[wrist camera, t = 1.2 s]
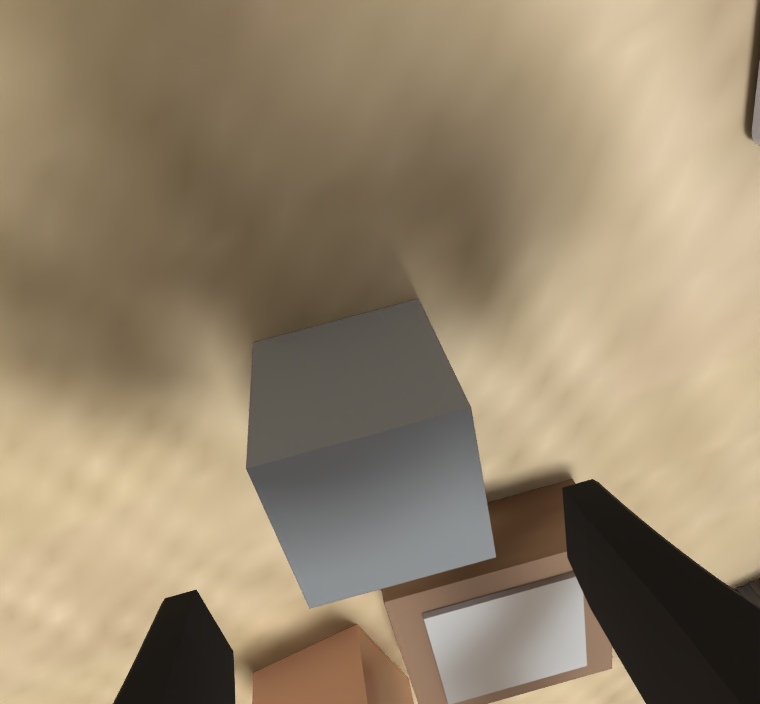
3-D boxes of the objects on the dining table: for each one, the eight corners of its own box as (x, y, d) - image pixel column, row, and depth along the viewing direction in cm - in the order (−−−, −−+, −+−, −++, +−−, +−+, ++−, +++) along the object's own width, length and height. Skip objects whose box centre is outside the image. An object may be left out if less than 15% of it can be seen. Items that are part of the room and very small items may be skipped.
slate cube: (417, 297, 16) (471, 407, 12) (444, 426, 18) (496, 557, 14) (253, 341, 16) (246, 468, 12) (300, 465, 18) (309, 608, 14)
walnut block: (567, 471, 21) (613, 544, 18) (576, 597, 24) (614, 673, 21) (369, 526, 20) (385, 607, 18) (408, 644, 24) (425, 726, 21)
